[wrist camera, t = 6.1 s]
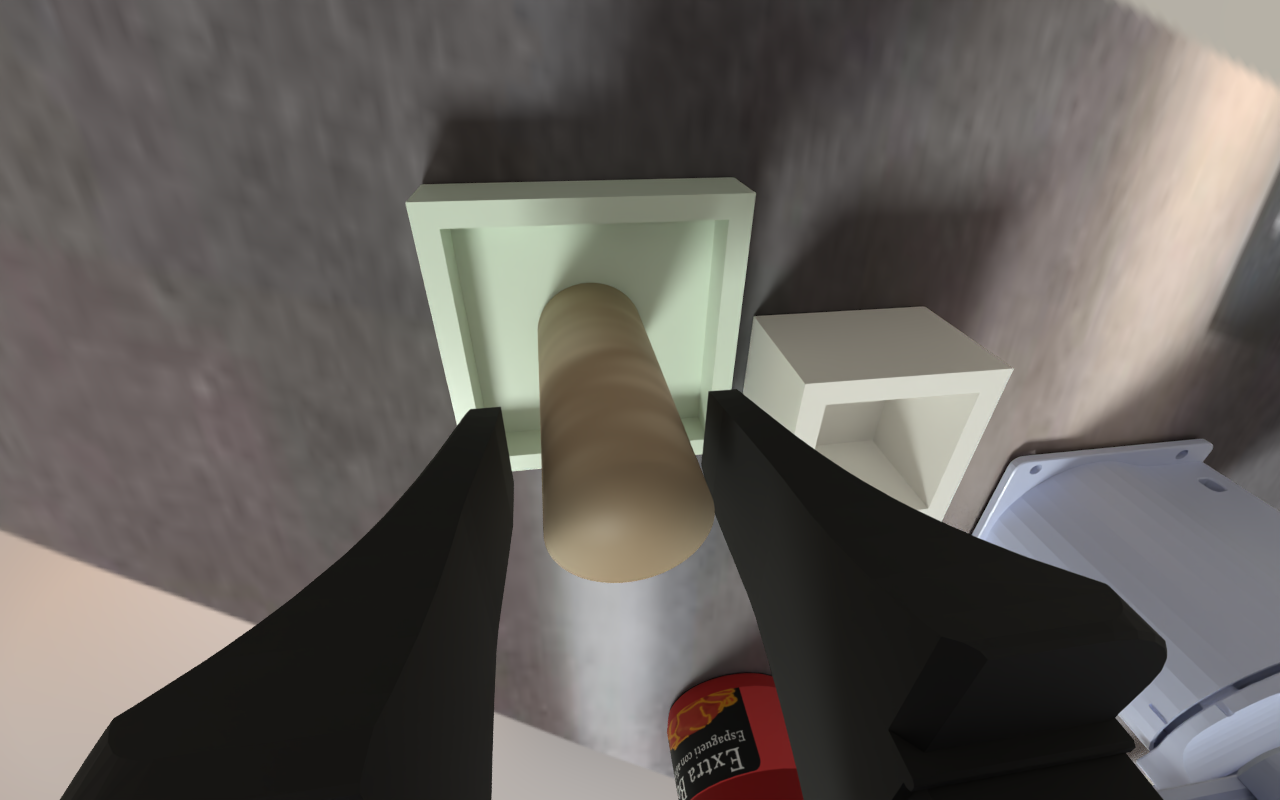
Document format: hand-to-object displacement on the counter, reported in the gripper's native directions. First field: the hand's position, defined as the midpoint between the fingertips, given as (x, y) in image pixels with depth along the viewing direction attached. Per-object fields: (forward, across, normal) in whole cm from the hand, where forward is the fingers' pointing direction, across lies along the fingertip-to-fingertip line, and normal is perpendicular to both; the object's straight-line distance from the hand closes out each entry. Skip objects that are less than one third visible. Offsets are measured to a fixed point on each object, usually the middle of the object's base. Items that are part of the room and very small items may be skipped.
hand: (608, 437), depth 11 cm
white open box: (+6, -8, +3) cm, 10 cm away
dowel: (+5, 0, 0) cm, 5 cm away
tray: (+6, 0, 0) cm, 6 cm away
